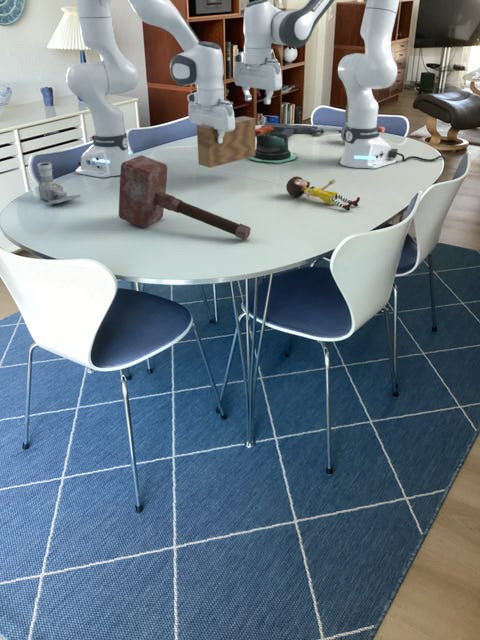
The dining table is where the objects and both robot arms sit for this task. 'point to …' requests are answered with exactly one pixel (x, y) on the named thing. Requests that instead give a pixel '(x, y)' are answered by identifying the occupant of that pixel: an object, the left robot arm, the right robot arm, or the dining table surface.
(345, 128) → the toy
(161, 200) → the sledgehammer
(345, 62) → the right robot arm
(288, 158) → the green dome on base
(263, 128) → the submachine gun
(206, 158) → the box
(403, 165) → the dining table surface
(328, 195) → the figurine
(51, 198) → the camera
